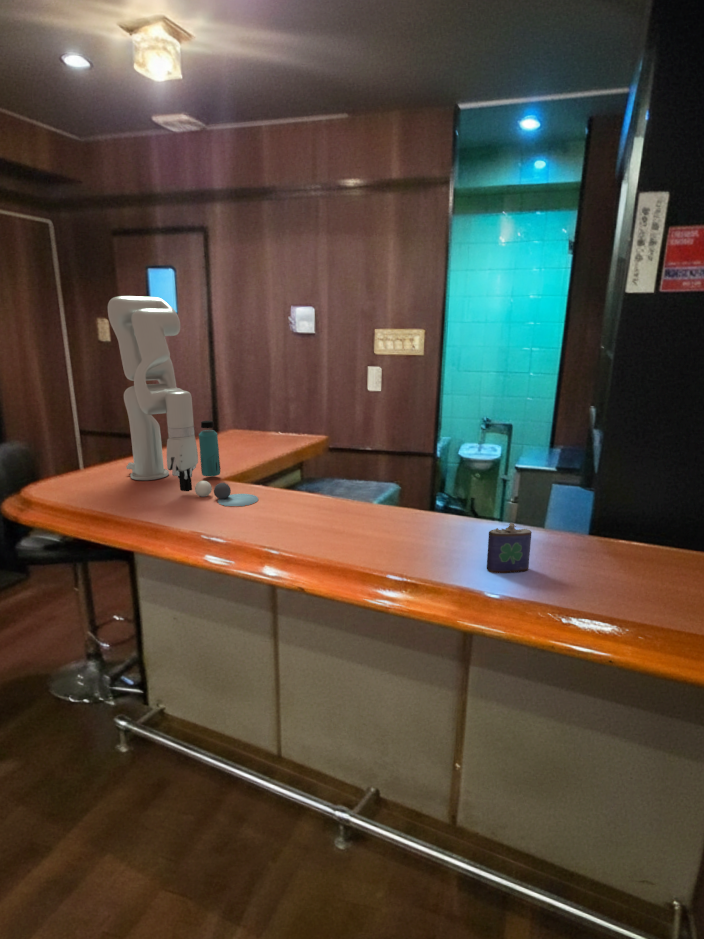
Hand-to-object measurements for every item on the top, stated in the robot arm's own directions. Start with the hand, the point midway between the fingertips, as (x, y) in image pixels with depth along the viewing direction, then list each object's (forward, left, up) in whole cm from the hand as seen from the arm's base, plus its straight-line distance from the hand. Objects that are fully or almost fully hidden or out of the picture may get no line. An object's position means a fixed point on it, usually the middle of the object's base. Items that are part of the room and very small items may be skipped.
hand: (186, 490), depth 166 cm
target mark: (+18, 0, -2) cm, 18 cm away
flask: (+97, -25, -2) cm, 100 cm away
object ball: (+13, 0, +1) cm, 13 cm away
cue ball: (+6, 0, +1) cm, 6 cm away
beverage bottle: (-3, +19, -2) cm, 19 cm away
